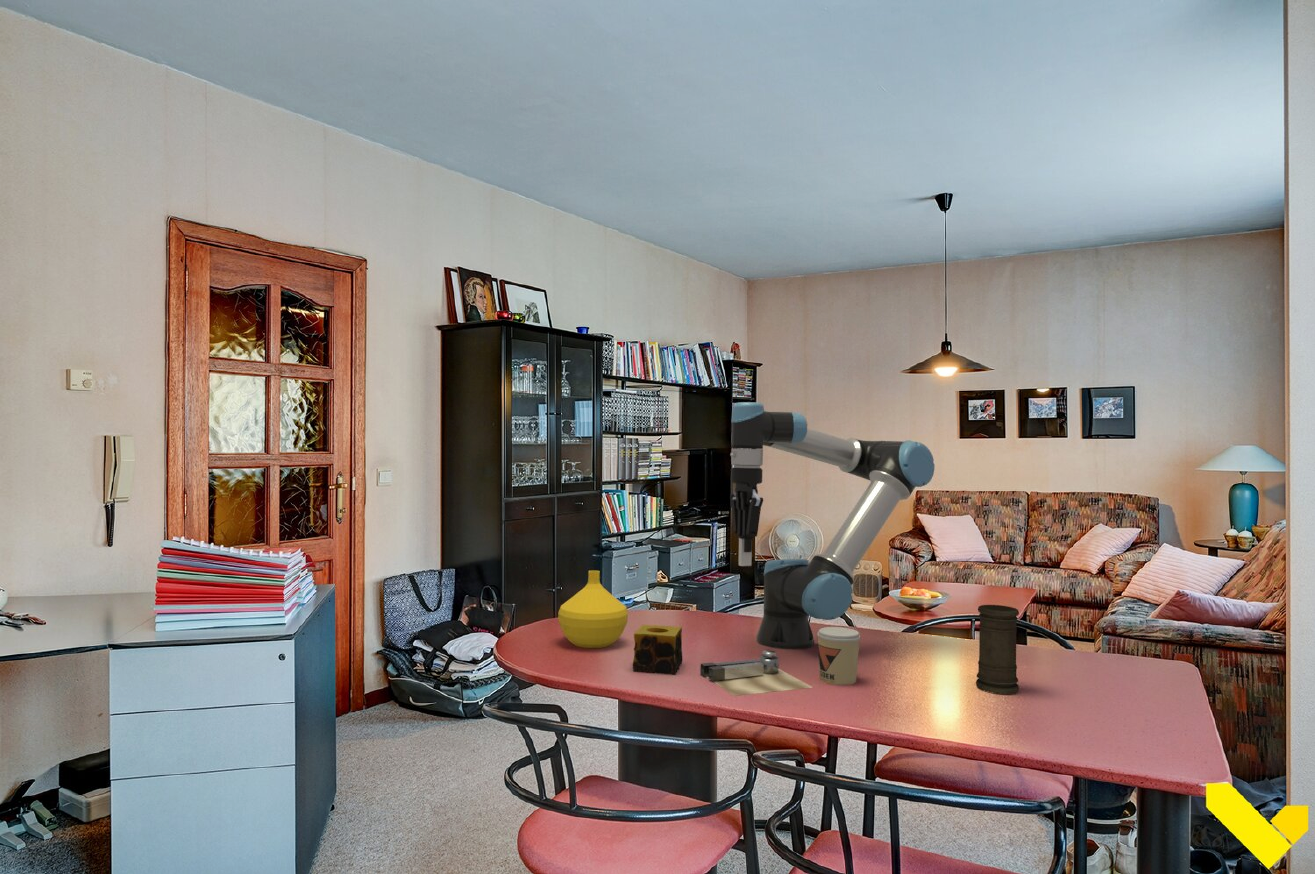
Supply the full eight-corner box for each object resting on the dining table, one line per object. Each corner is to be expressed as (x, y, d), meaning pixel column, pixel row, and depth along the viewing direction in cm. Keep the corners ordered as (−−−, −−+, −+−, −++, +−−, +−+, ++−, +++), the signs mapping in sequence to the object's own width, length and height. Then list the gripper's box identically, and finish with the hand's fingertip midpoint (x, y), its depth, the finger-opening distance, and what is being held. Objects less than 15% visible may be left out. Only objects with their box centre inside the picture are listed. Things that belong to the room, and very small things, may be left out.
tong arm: (770, 668, 190) (771, 649, 190) (780, 672, 186) (780, 654, 186) (703, 675, 182) (704, 656, 182) (712, 681, 179) (713, 661, 179)
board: (774, 671, 192) (774, 666, 192) (813, 693, 176) (813, 687, 176) (700, 678, 185) (700, 673, 185) (733, 701, 169) (733, 695, 169)
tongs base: (771, 668, 191) (771, 654, 191) (781, 673, 186) (782, 659, 186) (700, 674, 184) (700, 660, 184) (709, 680, 180) (709, 666, 180)
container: (1000, 697, 176) (1001, 613, 176) (966, 685, 184) (968, 605, 184) (1028, 691, 180) (1029, 610, 180) (994, 680, 188) (995, 602, 188)
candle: (675, 680, 184) (676, 636, 184) (631, 677, 186) (632, 633, 186) (683, 668, 194) (684, 626, 194) (641, 665, 196) (642, 623, 196)
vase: (588, 632, 228) (590, 563, 228) (641, 642, 217) (642, 570, 217) (543, 644, 213) (544, 571, 213) (596, 656, 202) (598, 579, 202)
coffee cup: (808, 681, 185) (809, 628, 185) (842, 677, 189) (843, 625, 189) (832, 693, 176) (833, 637, 176) (868, 688, 180) (869, 634, 180)
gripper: (720, 465, 200) (719, 562, 200) (745, 467, 188) (743, 570, 188) (748, 466, 203) (746, 560, 203) (773, 467, 191) (772, 569, 191)
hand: (744, 565), depth 195 cm, fingers closed
